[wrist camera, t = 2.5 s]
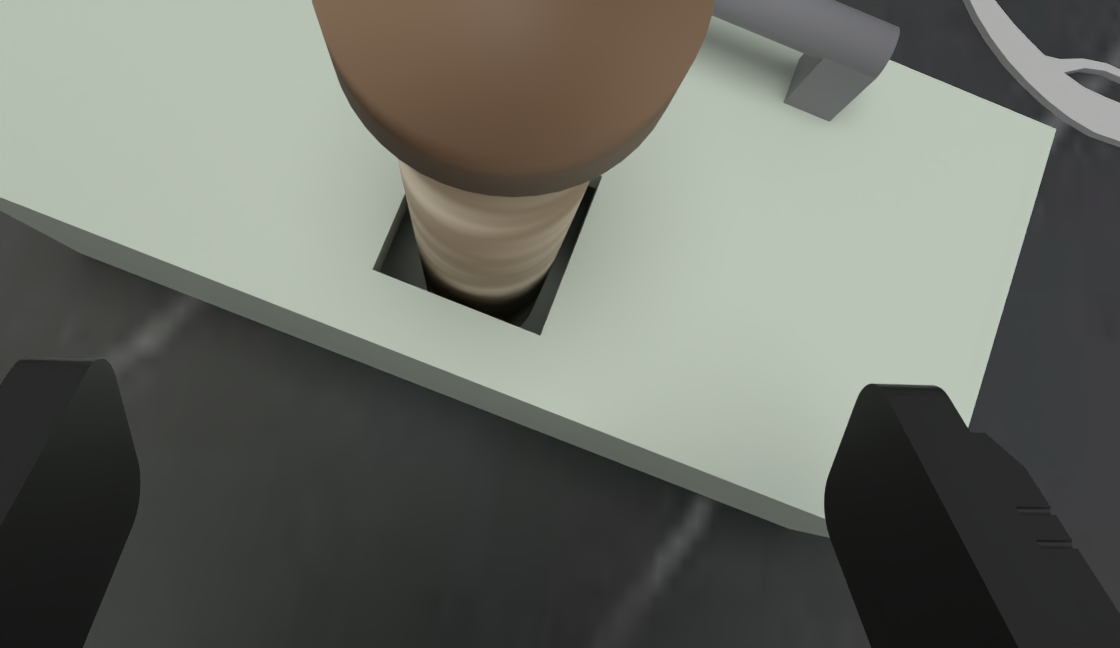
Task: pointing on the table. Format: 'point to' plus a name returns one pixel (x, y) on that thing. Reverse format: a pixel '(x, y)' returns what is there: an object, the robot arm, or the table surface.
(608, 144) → the beige long cylinder
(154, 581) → the table surface
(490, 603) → the table surface
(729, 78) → the toolbox
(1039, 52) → the pliers
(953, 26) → the table surface
